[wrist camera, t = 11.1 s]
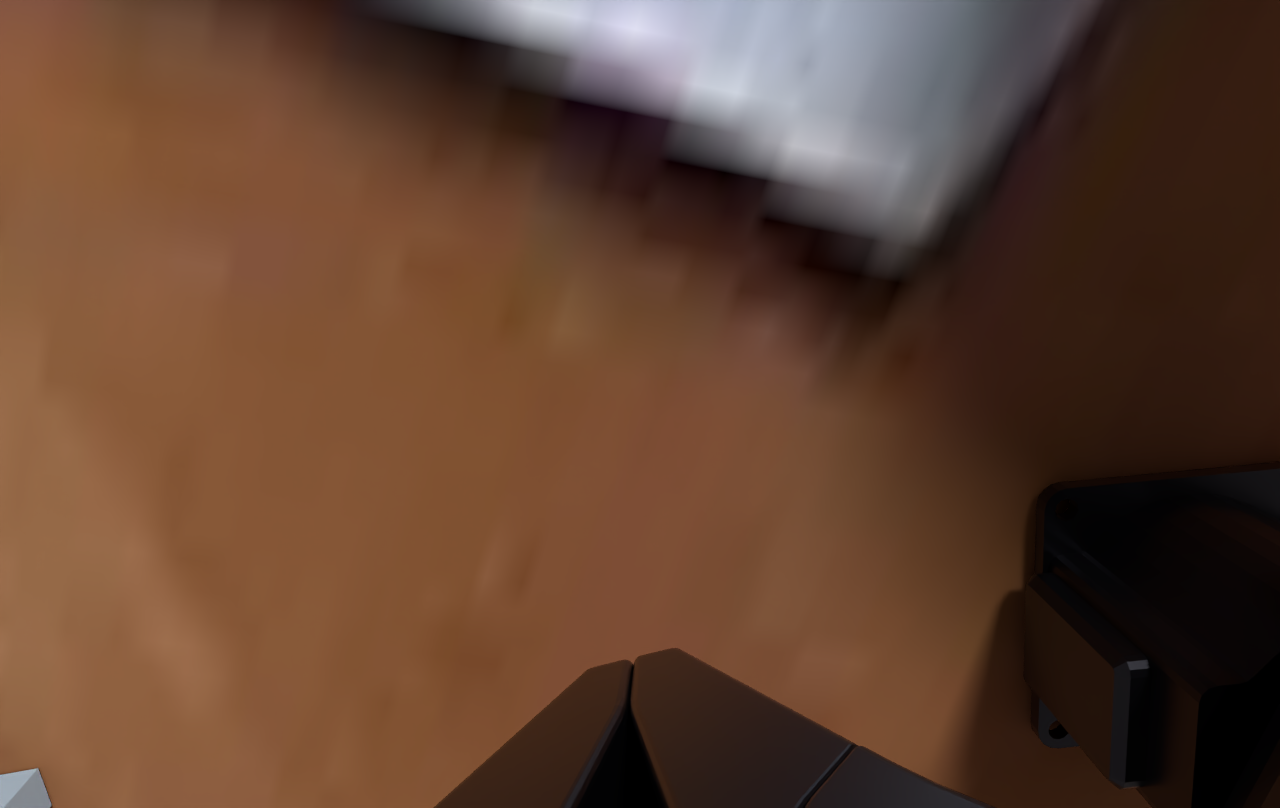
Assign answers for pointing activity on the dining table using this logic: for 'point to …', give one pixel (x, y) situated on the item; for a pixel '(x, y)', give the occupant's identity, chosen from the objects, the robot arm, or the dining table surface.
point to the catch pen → (23, 790)
